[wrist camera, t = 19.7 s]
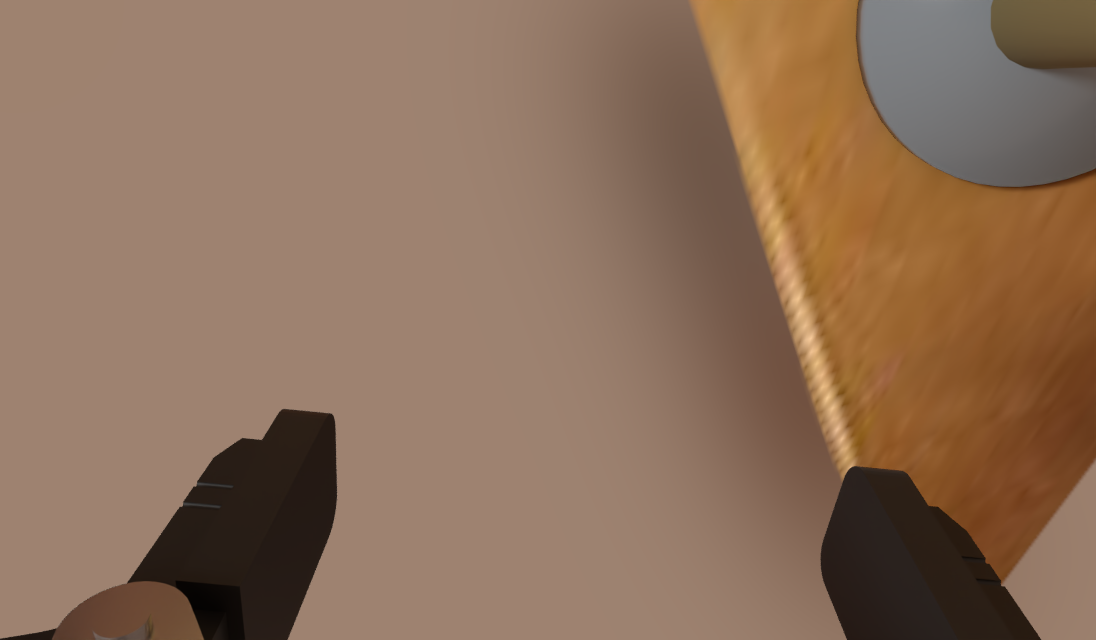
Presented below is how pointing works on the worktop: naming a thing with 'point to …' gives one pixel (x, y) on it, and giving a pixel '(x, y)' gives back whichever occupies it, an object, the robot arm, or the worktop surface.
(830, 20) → the worktop surface
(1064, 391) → the worktop surface
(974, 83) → the slate plate
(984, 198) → the worktop surface
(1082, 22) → the cork
